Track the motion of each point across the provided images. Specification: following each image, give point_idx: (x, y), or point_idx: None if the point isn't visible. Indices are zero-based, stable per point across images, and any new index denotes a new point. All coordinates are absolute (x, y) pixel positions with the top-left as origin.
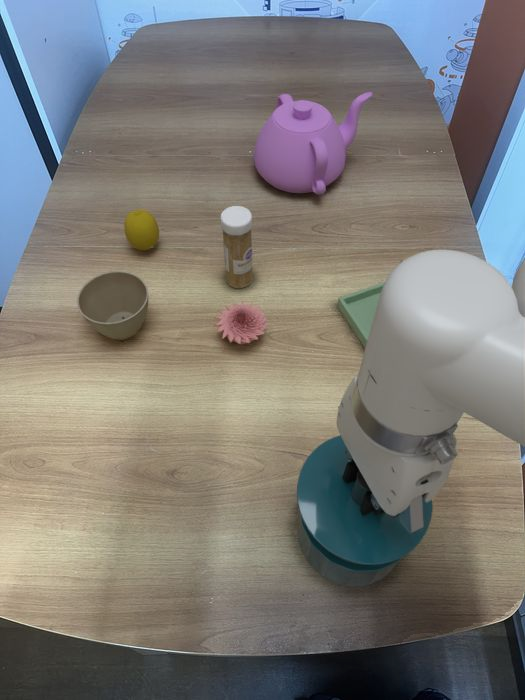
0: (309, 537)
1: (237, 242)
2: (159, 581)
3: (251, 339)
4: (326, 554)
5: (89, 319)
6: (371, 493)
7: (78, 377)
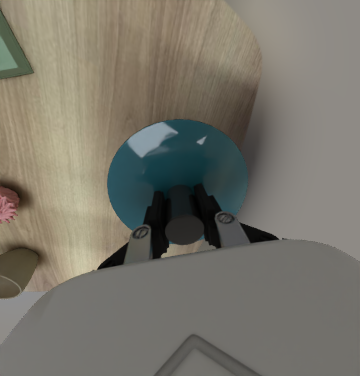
0: None
1: None
2: (177, 245)
3: (8, 199)
4: None
5: (19, 294)
6: (206, 237)
7: (69, 269)
